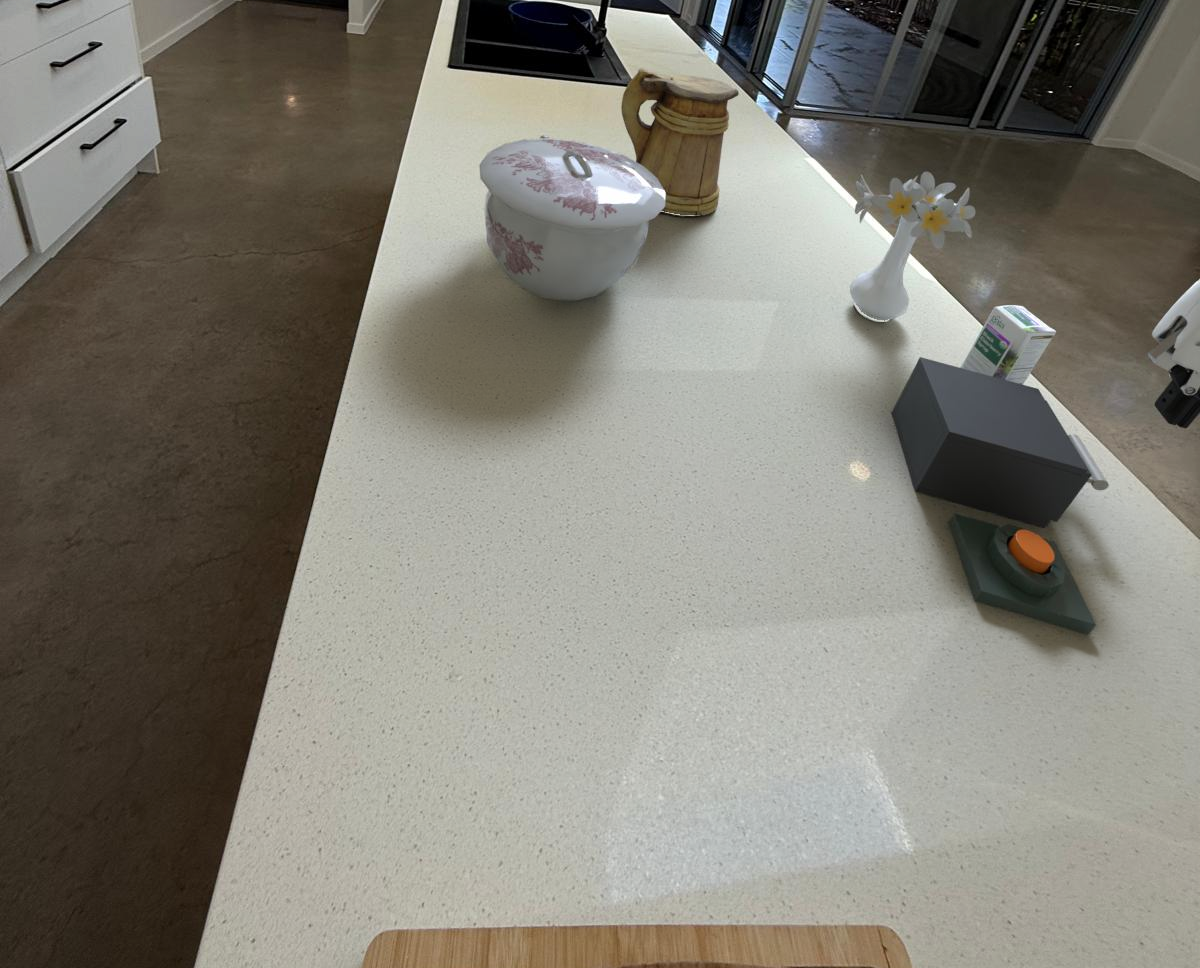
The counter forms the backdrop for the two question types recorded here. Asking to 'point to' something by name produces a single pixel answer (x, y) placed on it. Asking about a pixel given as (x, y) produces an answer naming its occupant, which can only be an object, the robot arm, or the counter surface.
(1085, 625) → the panel
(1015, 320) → the syrup box
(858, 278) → the flower vase
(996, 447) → the dark grey cabinet
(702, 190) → the tankard
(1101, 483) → the drawer
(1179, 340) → the robot arm
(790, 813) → the counter surface
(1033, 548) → the button
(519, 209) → the chamber pot
